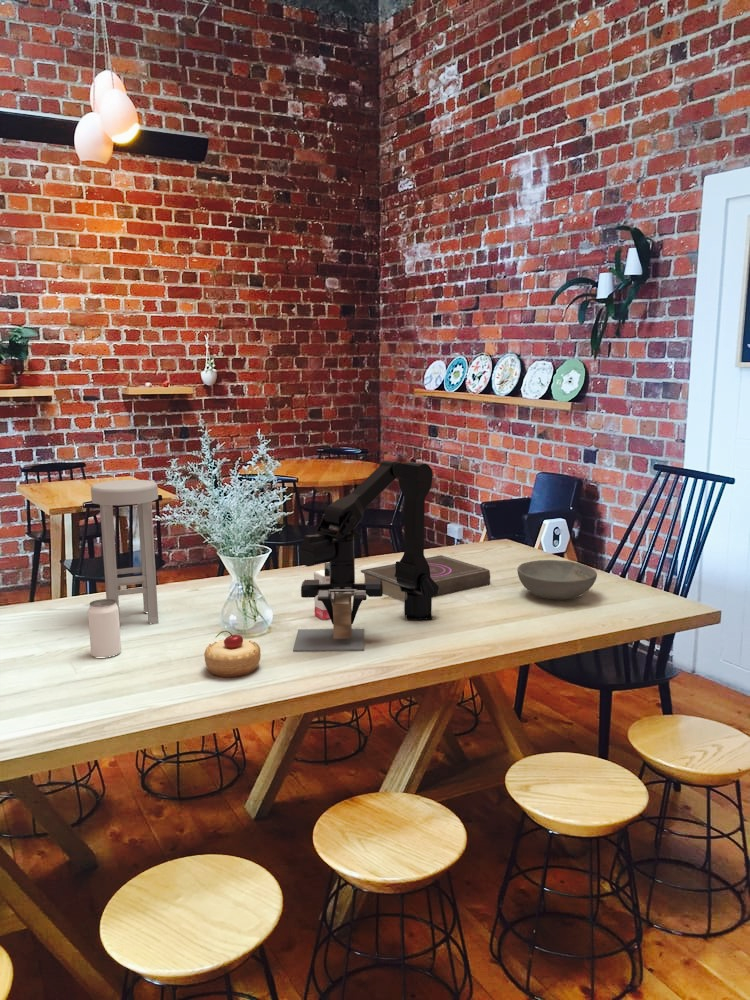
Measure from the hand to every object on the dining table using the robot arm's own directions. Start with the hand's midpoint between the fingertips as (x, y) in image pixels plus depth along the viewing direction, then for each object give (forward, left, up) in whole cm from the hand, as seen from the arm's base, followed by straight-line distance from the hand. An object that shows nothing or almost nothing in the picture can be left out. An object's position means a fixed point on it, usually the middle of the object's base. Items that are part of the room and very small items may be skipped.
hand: (342, 623), depth 186 cm
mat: (+3, 0, -4) cm, 5 cm away
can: (+53, +7, -4) cm, 54 cm away
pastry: (+23, +17, -4) cm, 29 cm away
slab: (0, 0, -2) cm, 2 cm away
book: (-23, -46, -5) cm, 52 cm away
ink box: (+3, -19, -4) cm, 20 cm away
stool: (+54, -17, -4) cm, 57 cm away
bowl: (-58, -33, -4) cm, 67 cm away
